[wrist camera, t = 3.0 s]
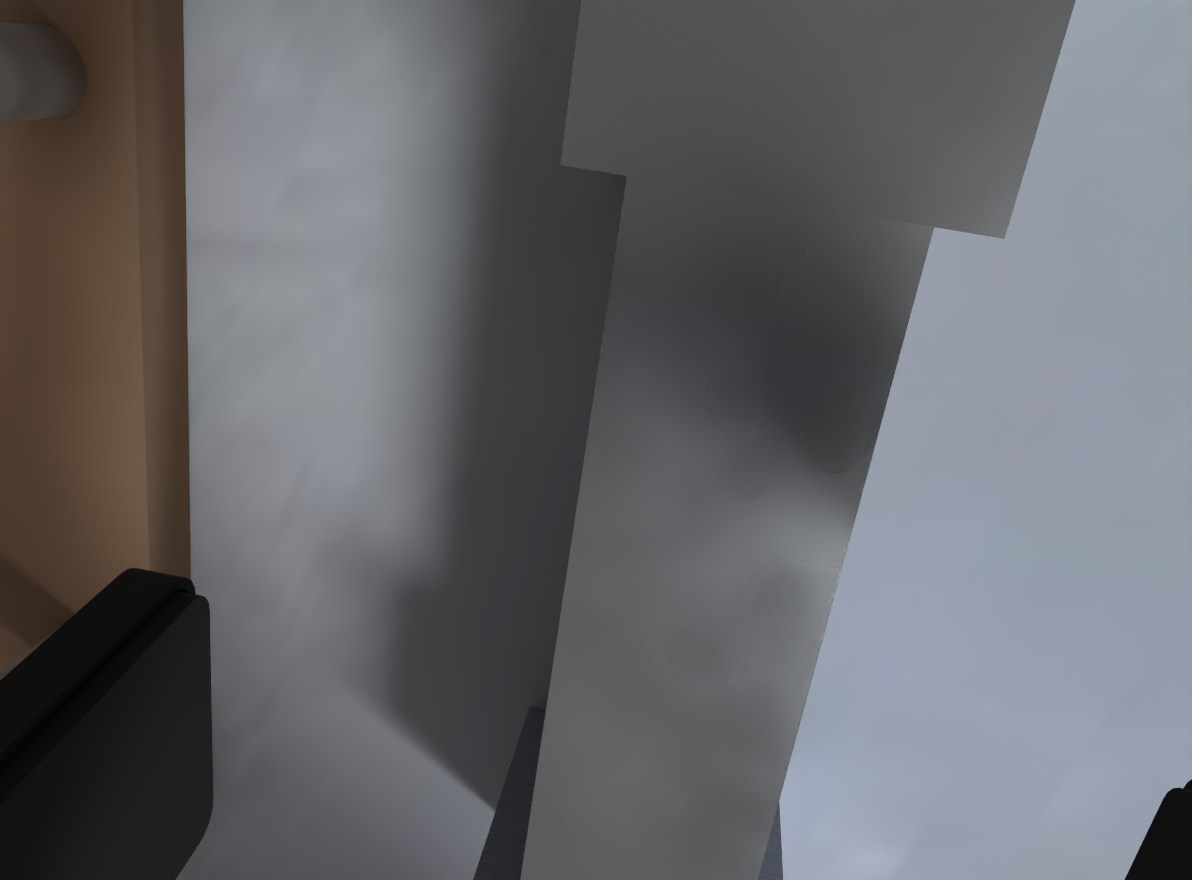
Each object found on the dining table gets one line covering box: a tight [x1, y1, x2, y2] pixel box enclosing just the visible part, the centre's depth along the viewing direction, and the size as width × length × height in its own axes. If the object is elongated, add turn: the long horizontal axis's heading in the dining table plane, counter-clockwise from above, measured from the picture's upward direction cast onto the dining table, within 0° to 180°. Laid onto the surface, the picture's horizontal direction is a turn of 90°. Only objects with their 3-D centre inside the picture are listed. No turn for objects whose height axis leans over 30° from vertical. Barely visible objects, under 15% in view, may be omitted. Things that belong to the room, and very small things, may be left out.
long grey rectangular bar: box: [473, 0, 1075, 880], centre depth 16 cm, size 5×18×5 cm, turn 172°
